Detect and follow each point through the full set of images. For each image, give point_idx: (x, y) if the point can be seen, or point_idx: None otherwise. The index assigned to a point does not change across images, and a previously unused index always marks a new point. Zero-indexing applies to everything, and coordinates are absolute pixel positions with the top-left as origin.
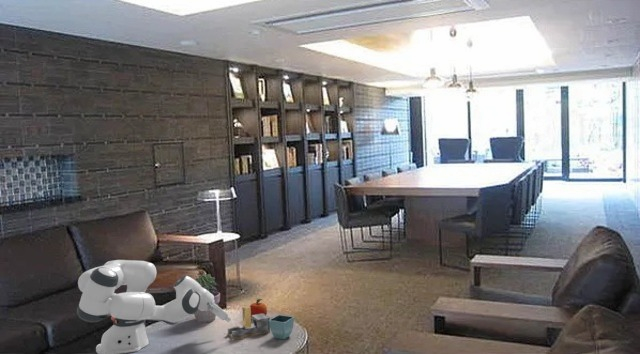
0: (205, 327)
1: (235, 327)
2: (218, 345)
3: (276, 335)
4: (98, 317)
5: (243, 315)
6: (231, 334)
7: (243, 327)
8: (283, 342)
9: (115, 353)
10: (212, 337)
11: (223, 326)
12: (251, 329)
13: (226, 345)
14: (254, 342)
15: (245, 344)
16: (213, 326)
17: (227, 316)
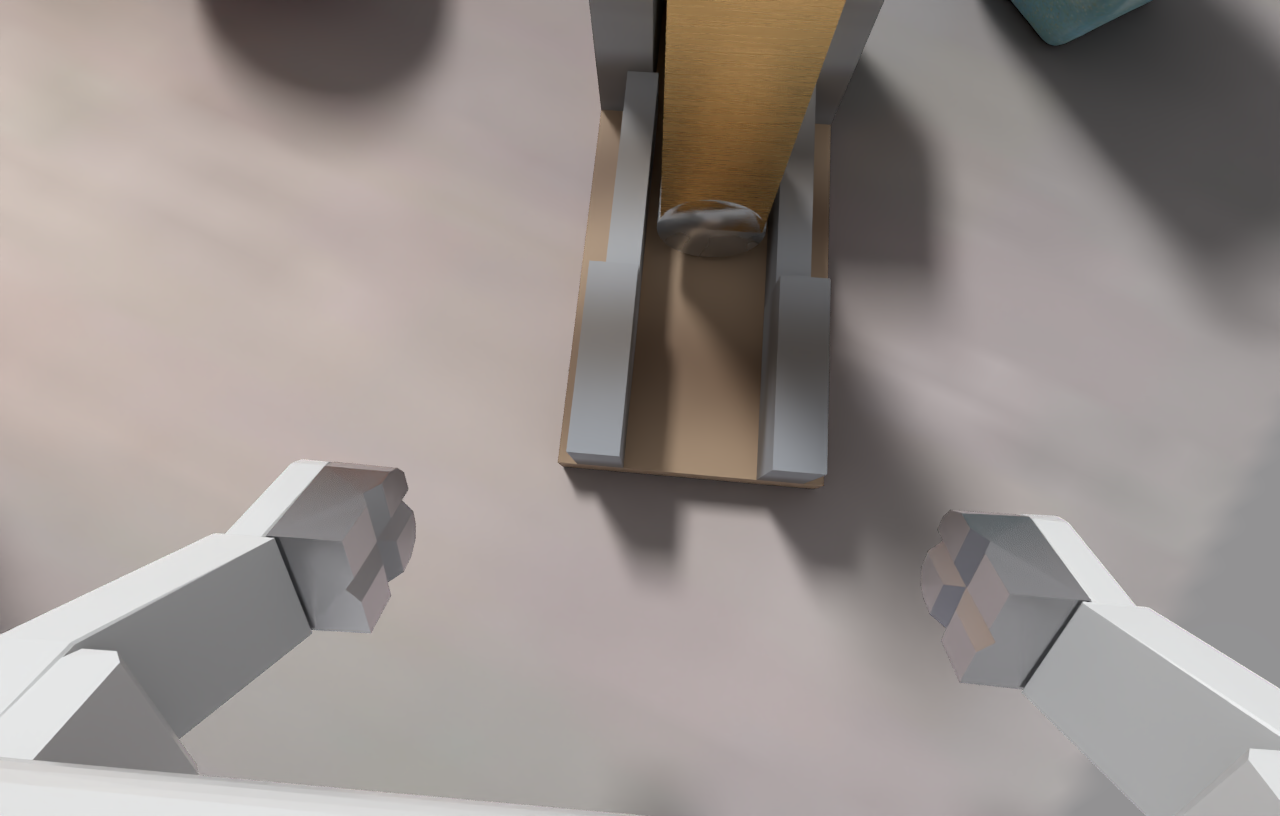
0: (26, 602)
1: (620, 331)
2: (908, 788)
3: (1131, 9)
4: None
5: (719, 62)
6: (670, 446)
7: (677, 224)
8: (1237, 40)
9: None
10: (514, 709)
11: (203, 363)
12: (811, 166)
13: None
14: (1064, 302)
15: (1077, 430)
16: (87, 480)
17: (1261, 683)
